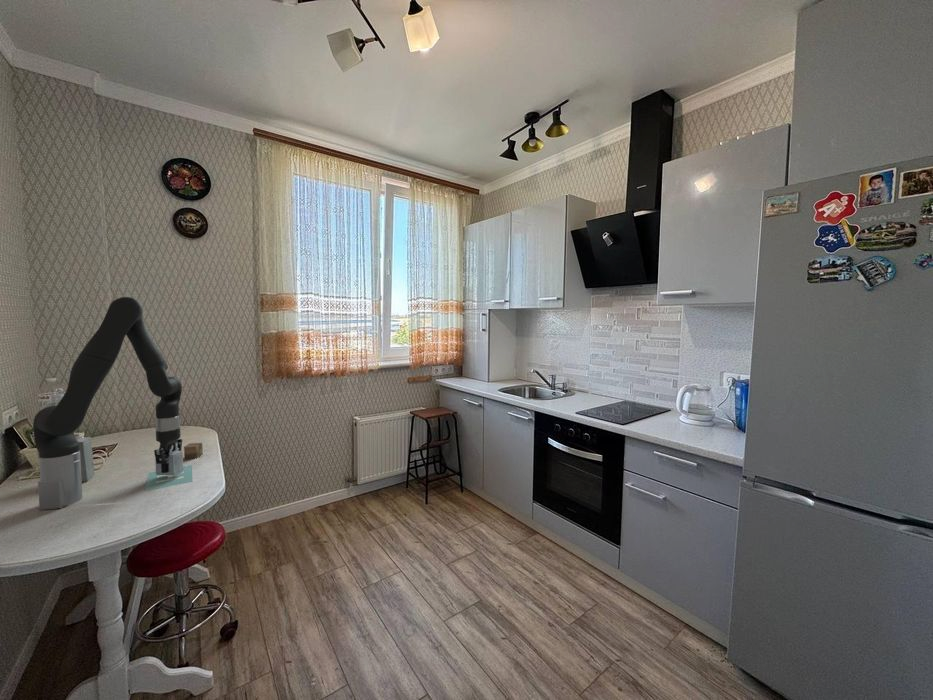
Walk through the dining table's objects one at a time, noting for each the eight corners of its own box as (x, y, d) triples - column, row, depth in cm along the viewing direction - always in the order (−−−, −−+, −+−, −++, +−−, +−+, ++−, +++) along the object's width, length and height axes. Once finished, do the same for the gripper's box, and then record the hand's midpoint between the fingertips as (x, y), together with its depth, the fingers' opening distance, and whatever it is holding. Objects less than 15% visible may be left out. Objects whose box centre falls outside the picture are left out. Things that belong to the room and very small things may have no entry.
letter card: (192, 482, 141) (192, 481, 141) (144, 492, 132) (144, 491, 132) (191, 465, 157) (191, 465, 157) (149, 473, 148) (149, 472, 148)
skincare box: (87, 482, 139) (85, 441, 138) (61, 485, 136) (58, 444, 135) (95, 473, 147) (93, 435, 146) (70, 477, 143) (68, 438, 142)
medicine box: (183, 471, 146) (183, 450, 146) (174, 476, 142) (173, 454, 141) (165, 470, 147) (165, 449, 146) (155, 475, 142) (154, 453, 142)
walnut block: (196, 459, 164) (196, 446, 164) (184, 459, 163) (184, 446, 163) (202, 455, 169) (202, 442, 169) (190, 455, 168) (190, 443, 168)
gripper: (168, 423, 149) (170, 463, 151) (144, 433, 135) (146, 477, 136) (189, 422, 151) (190, 462, 152) (167, 432, 137) (169, 476, 138)
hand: (169, 469), depth 144 cm, fingers closed on medicine box, 5 cm apart
